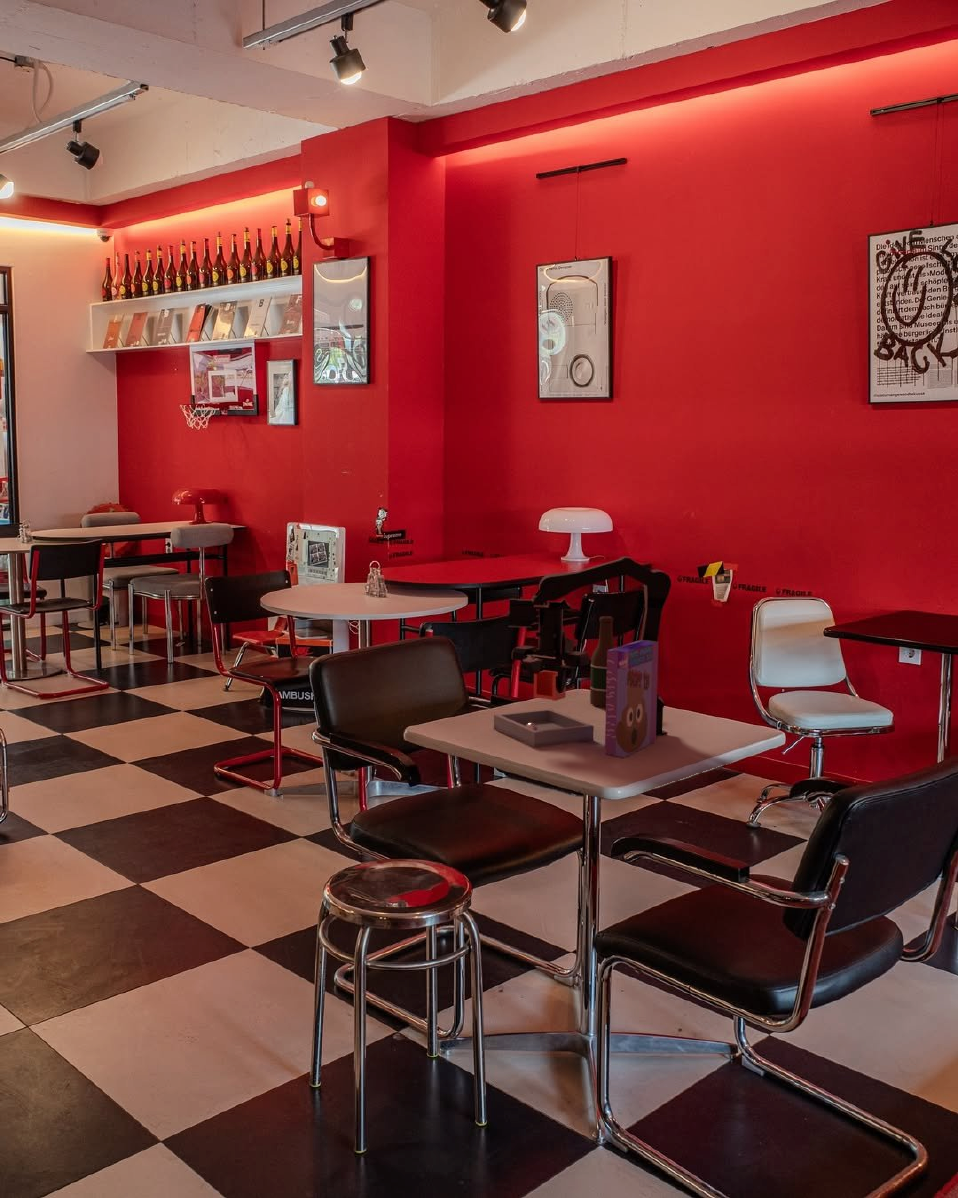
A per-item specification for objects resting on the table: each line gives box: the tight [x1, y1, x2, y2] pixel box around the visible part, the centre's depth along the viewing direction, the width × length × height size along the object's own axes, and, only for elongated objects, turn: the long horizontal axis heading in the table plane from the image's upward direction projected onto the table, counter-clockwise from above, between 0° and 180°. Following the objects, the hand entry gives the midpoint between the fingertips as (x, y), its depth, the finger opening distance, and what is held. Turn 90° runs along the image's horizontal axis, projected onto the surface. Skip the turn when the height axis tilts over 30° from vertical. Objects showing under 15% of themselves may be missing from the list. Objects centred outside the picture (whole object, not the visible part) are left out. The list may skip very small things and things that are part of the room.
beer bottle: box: [589, 615, 615, 709], centre depth 303 cm, size 8×8×24 cm
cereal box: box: [604, 639, 659, 759], centre depth 256 cm, size 17×5×24 cm, turn 148°
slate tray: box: [493, 708, 595, 748], centre depth 270 cm, size 20×16×4 cm
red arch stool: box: [533, 669, 567, 702], centre depth 271 cm, size 6×5×6 cm
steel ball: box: [526, 723, 537, 731], centre depth 266 cm, size 3×3×3 cm
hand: (549, 691), depth 272 cm, fingers closed on red arch stool, 6 cm apart
